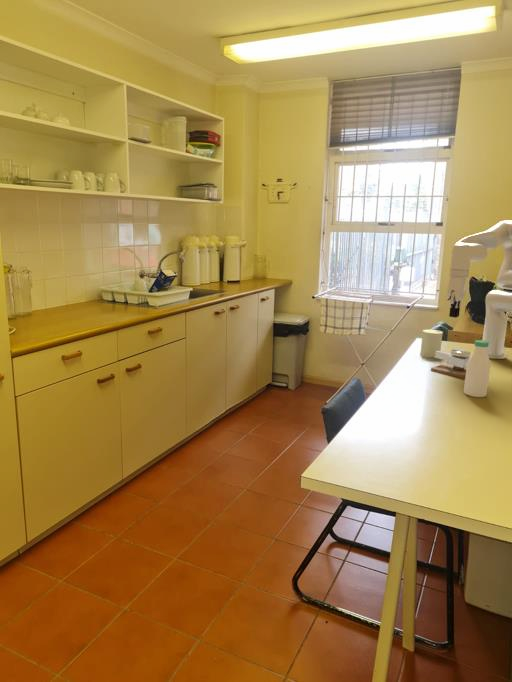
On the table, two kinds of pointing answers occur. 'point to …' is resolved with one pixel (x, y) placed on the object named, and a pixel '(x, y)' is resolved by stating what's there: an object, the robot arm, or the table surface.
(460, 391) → the table surface
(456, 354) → the coupling
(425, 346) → the can
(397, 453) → the table surface
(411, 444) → the table surface
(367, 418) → the table surface
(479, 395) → the milk bottle
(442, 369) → the post base
